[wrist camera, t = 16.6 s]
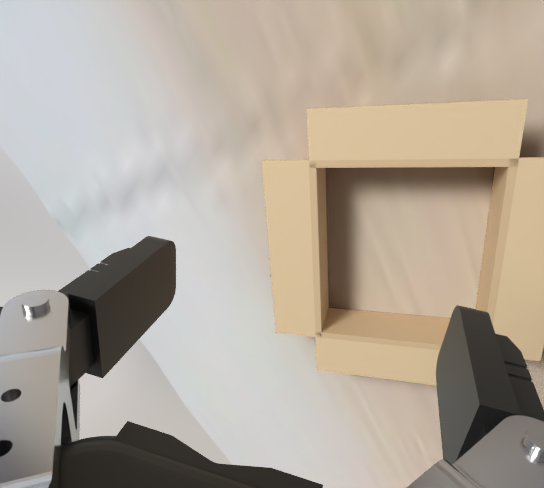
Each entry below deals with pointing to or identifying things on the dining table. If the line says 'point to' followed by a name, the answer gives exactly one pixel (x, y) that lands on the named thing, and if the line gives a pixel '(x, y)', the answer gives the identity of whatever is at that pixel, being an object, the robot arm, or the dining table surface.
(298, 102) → the dining table surface
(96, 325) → the robot arm
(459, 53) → the dining table surface
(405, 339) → the carton
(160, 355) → the dining table surface
